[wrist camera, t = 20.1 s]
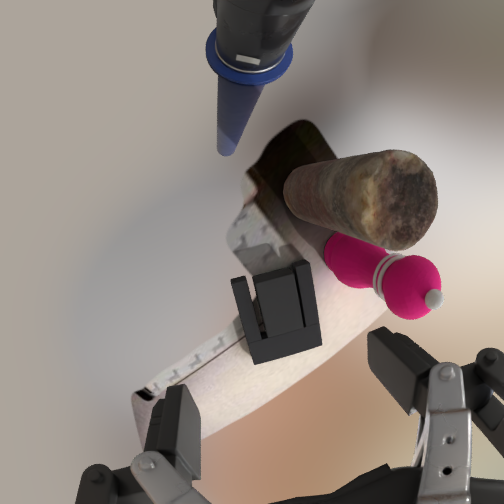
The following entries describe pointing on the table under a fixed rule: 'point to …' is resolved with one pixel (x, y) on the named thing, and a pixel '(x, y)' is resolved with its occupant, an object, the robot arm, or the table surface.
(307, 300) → the black u-shaped piece
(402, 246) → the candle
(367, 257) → the pepper mill
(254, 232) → the table surface
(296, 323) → the black block
